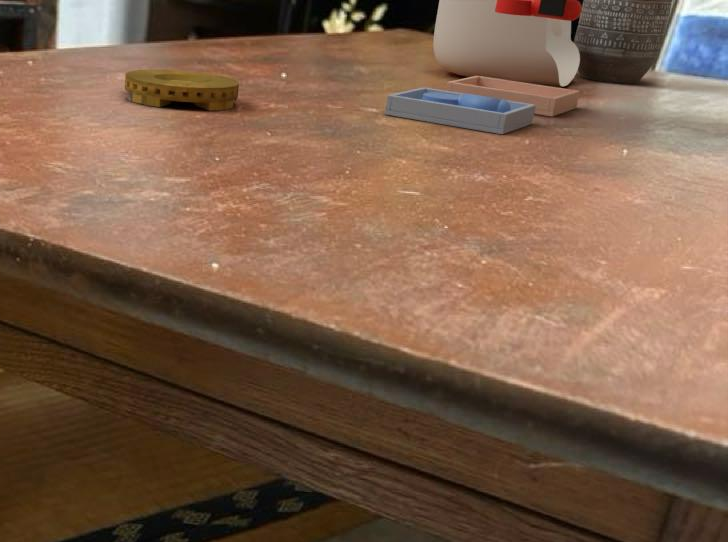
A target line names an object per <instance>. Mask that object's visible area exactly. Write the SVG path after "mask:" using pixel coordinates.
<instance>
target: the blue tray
mask: <svg viewBox="0 0 728 542" xmlns="http://www.w3.org/2000/svg"><path fill="white" fill-rule="evenodd" d="M424 93H445V94H452V95H457V96H459V95H461V94H463V93H456V92H450V91H446V90H445V89H444V90H443V89H437V88H430V87H418V88H413V89H410V90H404V91H400V92H397V93H396V92H395V93H392V94H388V95H387V97H386V104H385V110H384V115H386V116H391V117H397V118H403V119H407V120H408V119H410V120H415V121H421V122H427V123H431V124H432V123H433V124H437V125H443V126H448V127H449V126H450V127H455V128H462V129H468V130H474V131H479V132H486V133H492V134H497V135H504V134H508V133H511V132H513V131H517V130H519V129H522V128H525V127H527V126H530V125H532V124H533V121H534V116H535V114H534V112H535V108H536V105H533V104H527V103H521V102H514V101H508V100H506V101H508V102H509V104H510V106H511V111H508V112H505V113H500V112H494V111H488V110H482V109H476V108H470V107H463V106H457V105H451V104H445V103H439V102H432V101H426V100H422V97H423V94H424Z"/></svg>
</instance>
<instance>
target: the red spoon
mask: <svg viewBox="0 0 728 542" xmlns="http://www.w3.org/2000/svg"><path fill="white" fill-rule="evenodd" d="M540 1H541V0H497V3H496V8H495V12H498V13H503V14H510V15H520V16H536V17H544V18H552V19H559V20H567V21H571V22H572V21H575V20H577V19H578V18H580V14H581V12H582V4H581V2H580V1H579V0H567V1H566V5H565V9H564V14H563V17H559V16H551V15H542V14H538V10H539V6H540Z"/></svg>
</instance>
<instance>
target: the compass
mask: <svg viewBox="0 0 728 542" xmlns="http://www.w3.org/2000/svg"><path fill="white" fill-rule="evenodd" d="M239 89H240V82H239V81H238V80H237V79H234V78H231V77H227V76H223V75H218V74H213V73H207V72H206V73H205V72H199V71H191V70H190V71H188V70H178V69H177V70H176V69H138V70H131V71H127V72H126V73H125V75H124V90H125V91H126V92H129V93H130V94H132V97H131V102H134V103H137V104H141V105H145V106H149V107H156V108H161V107H165V106H167V105H168V106H169V105H171V103H172V102H182V103H184V102H185V103H193V104H194V106H196V107H197V108H198V107H199V108H201V109H204V110H206V111H225V110H230V109H234V101H235V100H238V98H239Z"/></svg>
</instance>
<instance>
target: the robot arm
mask: <svg viewBox="0 0 728 542" xmlns="http://www.w3.org/2000/svg"><path fill="white" fill-rule="evenodd" d="M566 1H567V0H541V1H540V6H539V10H538V14H542V15H551V16H559V17H563V14H564V9H565V5H566Z"/></svg>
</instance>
